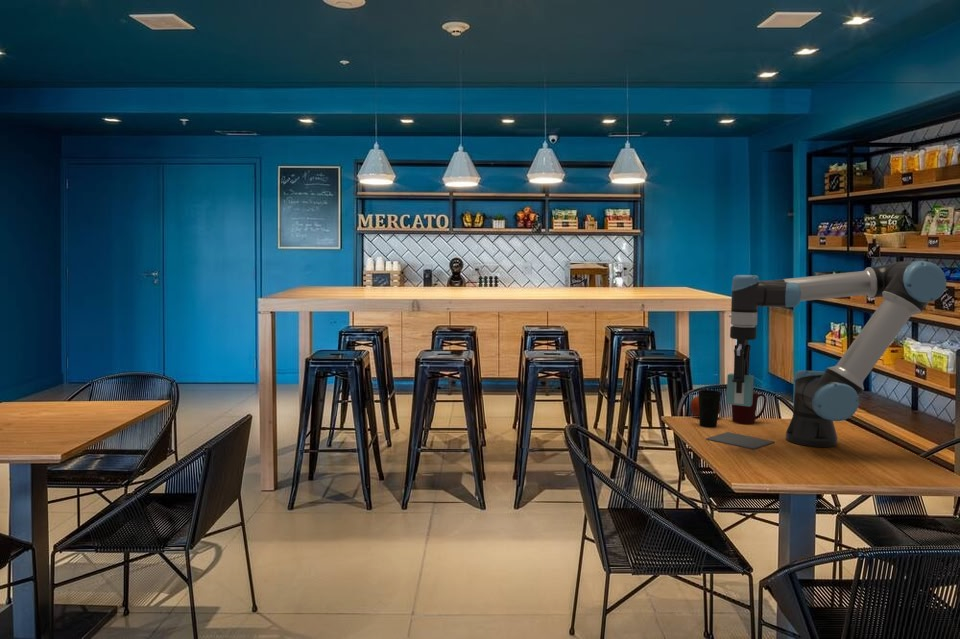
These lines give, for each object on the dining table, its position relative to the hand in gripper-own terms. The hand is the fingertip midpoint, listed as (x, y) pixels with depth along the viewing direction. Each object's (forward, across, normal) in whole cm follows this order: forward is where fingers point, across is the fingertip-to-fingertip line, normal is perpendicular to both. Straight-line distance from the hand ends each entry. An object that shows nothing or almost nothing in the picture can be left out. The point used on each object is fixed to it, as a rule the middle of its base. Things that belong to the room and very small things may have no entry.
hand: (740, 402), depth 224 cm
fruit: (+15, -40, -20) cm, 47 cm away
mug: (+15, -41, -5) cm, 44 cm away
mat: (+14, -10, -1) cm, 18 cm away
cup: (+15, -27, -15) cm, 34 cm away
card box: (+1, 0, 0) cm, 1 cm away
